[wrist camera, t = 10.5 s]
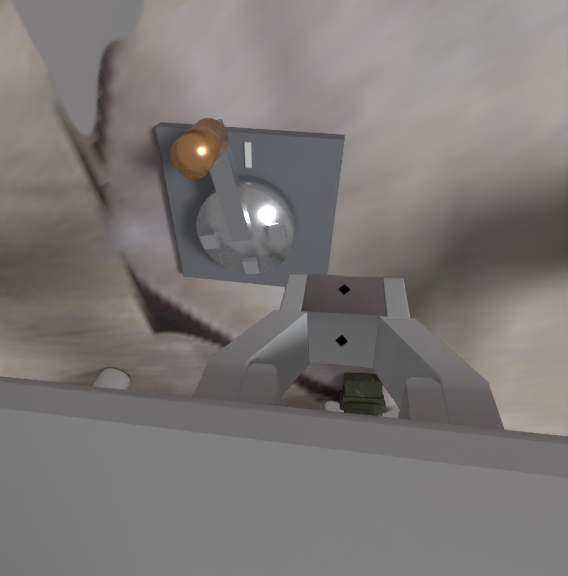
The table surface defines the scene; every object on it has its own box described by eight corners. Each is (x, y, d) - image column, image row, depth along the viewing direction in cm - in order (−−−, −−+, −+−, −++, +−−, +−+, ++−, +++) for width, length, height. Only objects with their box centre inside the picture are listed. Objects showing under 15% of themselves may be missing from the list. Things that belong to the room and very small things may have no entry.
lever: (302, 255, 41) (293, 309, 34) (220, 262, 43) (196, 314, 36) (273, 96, 31) (251, 125, 24) (168, 115, 33) (120, 147, 26)
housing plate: (344, 134, 34) (344, 140, 32) (325, 283, 45) (324, 292, 44) (161, 122, 35) (154, 127, 34) (187, 269, 47) (183, 277, 45)
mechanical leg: (380, 428, 63) (408, 660, 36) (338, 425, 64) (336, 648, 37) (385, 364, 57) (422, 583, 30) (339, 362, 58) (336, 571, 31)
